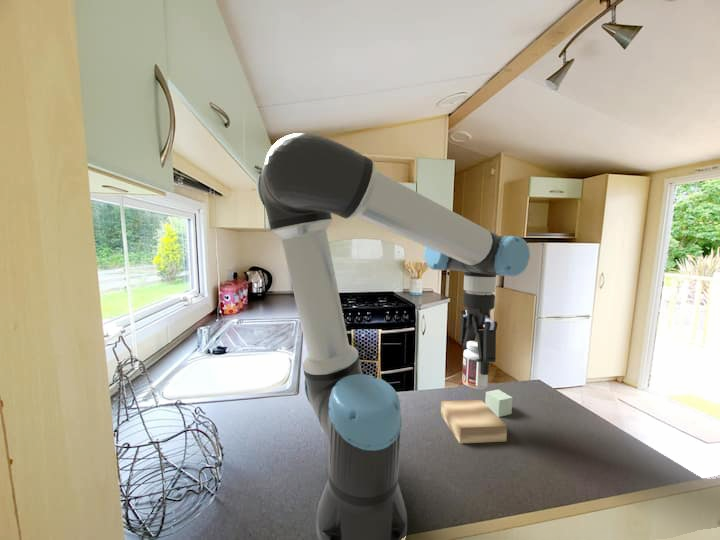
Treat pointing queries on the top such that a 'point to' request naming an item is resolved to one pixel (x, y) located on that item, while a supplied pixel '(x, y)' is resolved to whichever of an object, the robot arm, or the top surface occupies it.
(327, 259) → the robot arm
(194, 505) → the top surface
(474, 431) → the oak block
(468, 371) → the pill bottle
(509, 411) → the sage cube
